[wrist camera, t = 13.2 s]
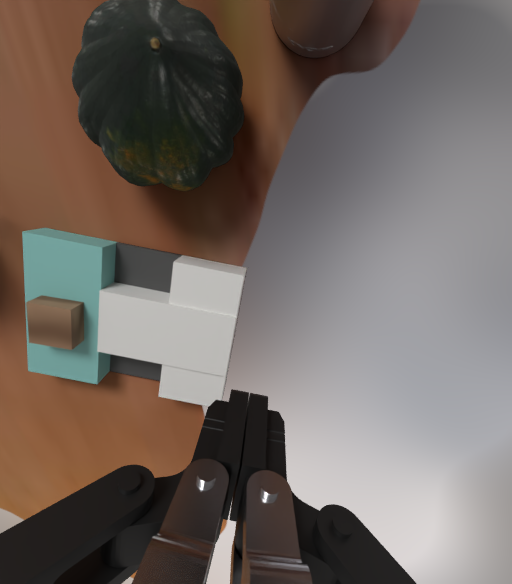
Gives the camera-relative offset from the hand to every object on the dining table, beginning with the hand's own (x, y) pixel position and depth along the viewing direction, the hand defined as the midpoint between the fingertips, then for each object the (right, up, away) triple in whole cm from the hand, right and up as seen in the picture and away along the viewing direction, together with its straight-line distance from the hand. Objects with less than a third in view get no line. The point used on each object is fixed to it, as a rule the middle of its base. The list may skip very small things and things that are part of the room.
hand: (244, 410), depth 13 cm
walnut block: (-23, +2, +25) cm, 34 cm away
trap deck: (-15, +2, +29) cm, 32 cm away
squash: (-8, +24, +21) cm, 33 cm away
